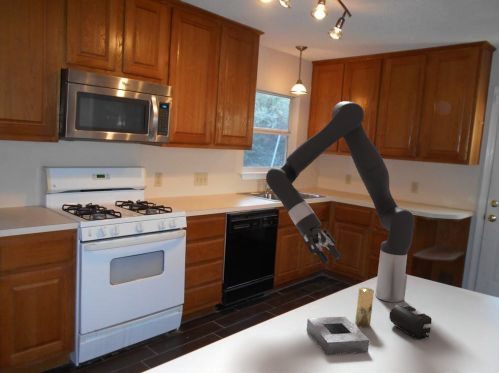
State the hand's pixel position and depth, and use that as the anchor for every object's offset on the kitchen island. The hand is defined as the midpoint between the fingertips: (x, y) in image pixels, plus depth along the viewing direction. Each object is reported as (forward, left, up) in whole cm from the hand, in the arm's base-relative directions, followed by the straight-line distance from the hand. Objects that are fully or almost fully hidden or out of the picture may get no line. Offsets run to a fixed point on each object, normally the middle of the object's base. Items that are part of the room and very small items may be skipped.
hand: (332, 260), depth 130 cm
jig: (+5, +17, -17) cm, 25 cm away
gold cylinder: (-8, +9, -17) cm, 21 cm away
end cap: (-20, +15, -18) cm, 30 cm away
